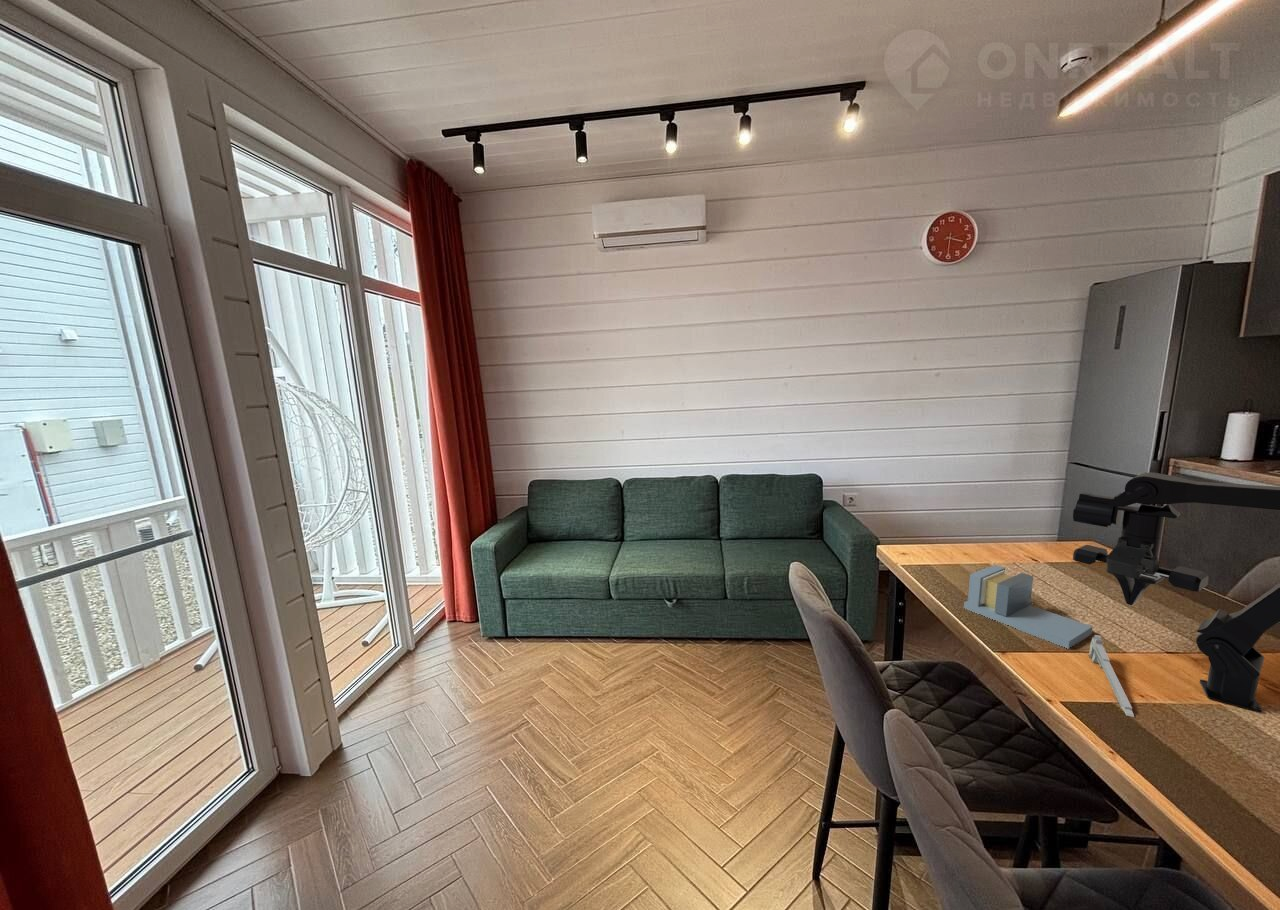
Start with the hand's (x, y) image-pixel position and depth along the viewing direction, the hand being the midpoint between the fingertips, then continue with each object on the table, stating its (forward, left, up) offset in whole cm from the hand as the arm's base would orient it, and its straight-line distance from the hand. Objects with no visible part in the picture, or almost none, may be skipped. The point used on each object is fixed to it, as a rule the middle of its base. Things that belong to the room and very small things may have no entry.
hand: (1130, 604), depth 99 cm
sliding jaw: (+9, +19, -11) cm, 24 cm away
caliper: (-12, +3, -14) cm, 18 cm away
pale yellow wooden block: (+11, +22, -11) cm, 27 cm away
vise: (+8, +17, -13) cm, 23 cm away
